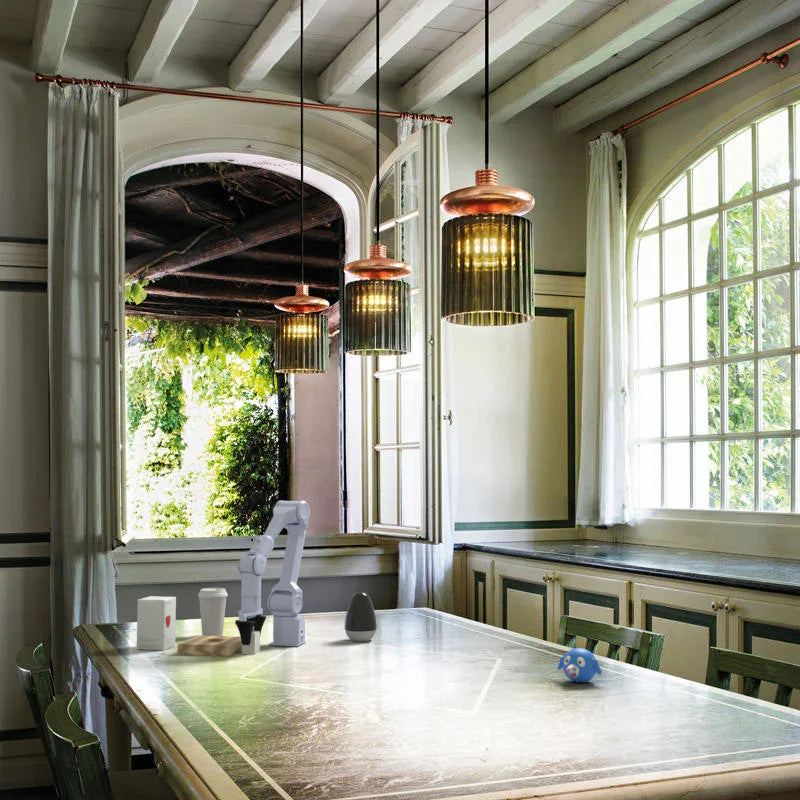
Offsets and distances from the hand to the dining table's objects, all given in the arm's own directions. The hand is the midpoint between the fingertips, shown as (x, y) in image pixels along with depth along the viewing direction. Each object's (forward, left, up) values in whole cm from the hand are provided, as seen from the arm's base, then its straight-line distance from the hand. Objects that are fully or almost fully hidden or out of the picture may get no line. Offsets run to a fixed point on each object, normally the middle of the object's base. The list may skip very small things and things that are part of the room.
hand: (250, 642), depth 305 cm
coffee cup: (+23, -26, -3) cm, 35 cm away
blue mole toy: (-96, +24, -3) cm, 99 cm away
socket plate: (+12, -1, -3) cm, 12 cm away
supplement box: (+31, -2, -3) cm, 31 cm away
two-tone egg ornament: (-26, -28, -3) cm, 38 cm away
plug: (0, 0, -3) cm, 3 cm away
